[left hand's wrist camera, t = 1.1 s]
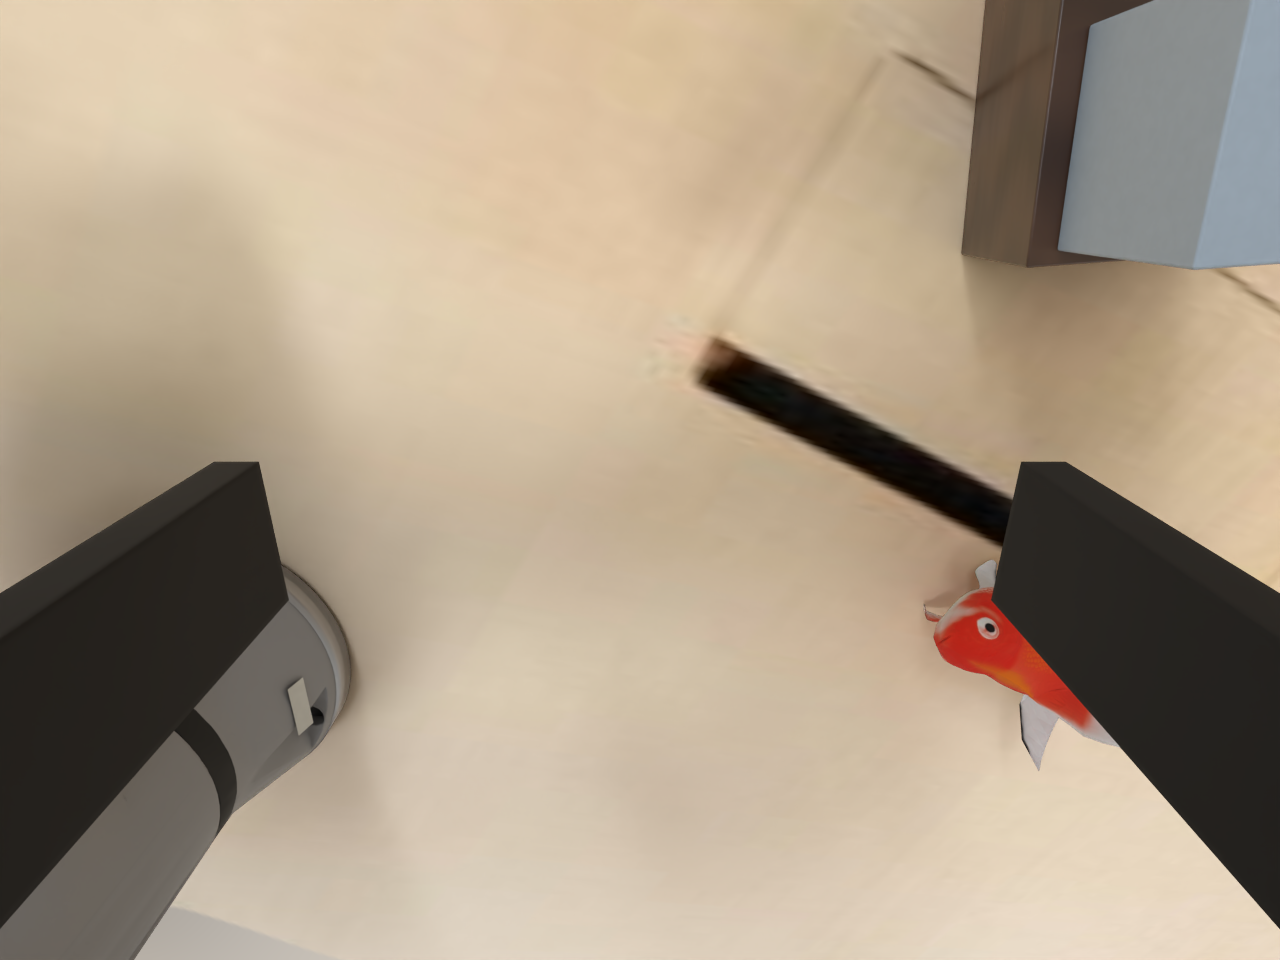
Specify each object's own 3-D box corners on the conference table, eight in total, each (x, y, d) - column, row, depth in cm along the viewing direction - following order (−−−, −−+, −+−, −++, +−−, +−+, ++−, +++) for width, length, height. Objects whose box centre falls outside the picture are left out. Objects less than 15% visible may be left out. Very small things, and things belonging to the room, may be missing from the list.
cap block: (1228, 238, 25) (1428, 253, 18) (1056, 251, 25) (1193, 270, 19) (1281, 7, 22) (1537, -70, 16) (1088, 24, 23) (1261, -44, 16)
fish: (1067, 455, 29) (1213, 684, 23) (1190, 544, 38) (1319, 728, 32) (862, 571, 36) (937, 775, 30) (1008, 625, 44) (1088, 791, 38)
